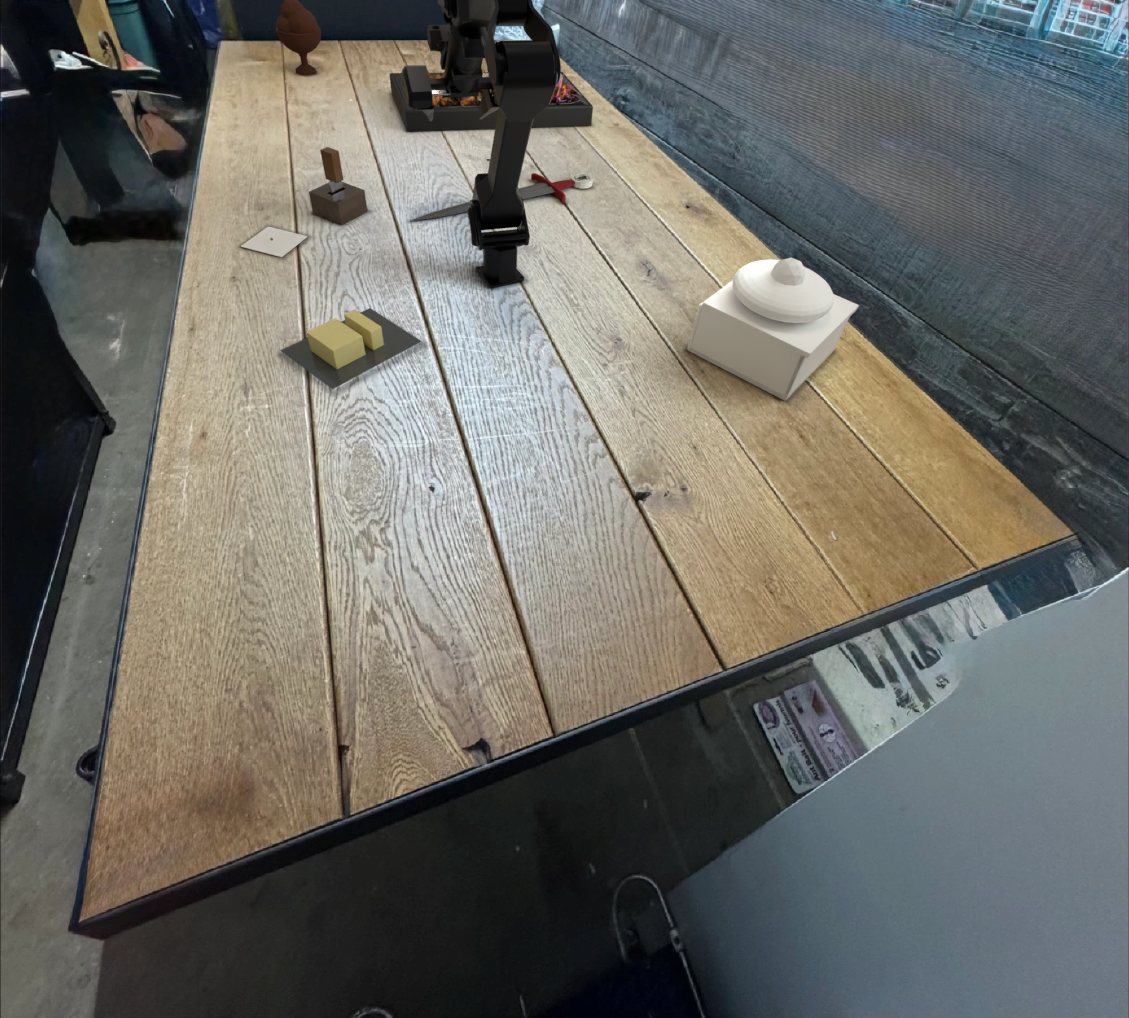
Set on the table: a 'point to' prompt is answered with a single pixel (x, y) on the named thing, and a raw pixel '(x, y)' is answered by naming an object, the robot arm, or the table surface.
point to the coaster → (274, 241)
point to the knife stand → (338, 203)
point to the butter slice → (365, 329)
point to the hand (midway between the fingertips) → (455, 117)
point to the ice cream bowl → (298, 33)
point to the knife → (332, 169)
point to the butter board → (393, 345)
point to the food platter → (463, 113)
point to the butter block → (336, 343)
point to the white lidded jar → (771, 325)
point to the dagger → (528, 192)
